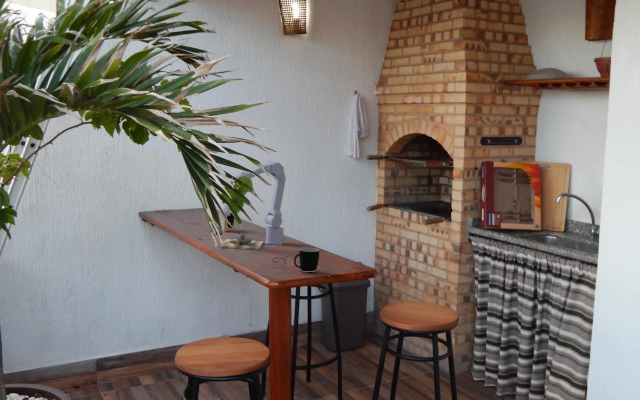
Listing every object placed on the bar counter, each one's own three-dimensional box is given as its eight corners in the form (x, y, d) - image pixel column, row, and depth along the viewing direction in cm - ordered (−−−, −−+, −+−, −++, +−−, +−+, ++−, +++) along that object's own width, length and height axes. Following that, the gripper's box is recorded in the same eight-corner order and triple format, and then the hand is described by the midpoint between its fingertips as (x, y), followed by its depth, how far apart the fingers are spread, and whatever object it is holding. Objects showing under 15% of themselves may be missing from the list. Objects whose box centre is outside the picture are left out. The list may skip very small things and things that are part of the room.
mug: (312, 268, 316) (313, 247, 314) (321, 273, 308) (323, 250, 307) (289, 270, 310) (290, 248, 309) (298, 274, 302) (299, 252, 301)
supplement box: (224, 232, 399) (225, 209, 397) (218, 231, 401) (219, 208, 400) (234, 230, 405) (235, 208, 403) (228, 229, 408) (229, 207, 406)
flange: (239, 238, 369) (240, 236, 369) (255, 241, 364) (255, 238, 364) (224, 242, 356) (224, 239, 356) (240, 244, 352) (240, 242, 352)
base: (263, 242, 372) (263, 231, 371) (258, 250, 352) (259, 238, 351) (226, 240, 372) (226, 229, 372) (219, 247, 353) (220, 236, 352)
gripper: (226, 199, 366) (225, 224, 367) (220, 203, 351) (219, 229, 353) (239, 200, 365) (238, 225, 367) (234, 203, 351) (233, 230, 353)
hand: (230, 227), depth 360 cm, fingers closed
